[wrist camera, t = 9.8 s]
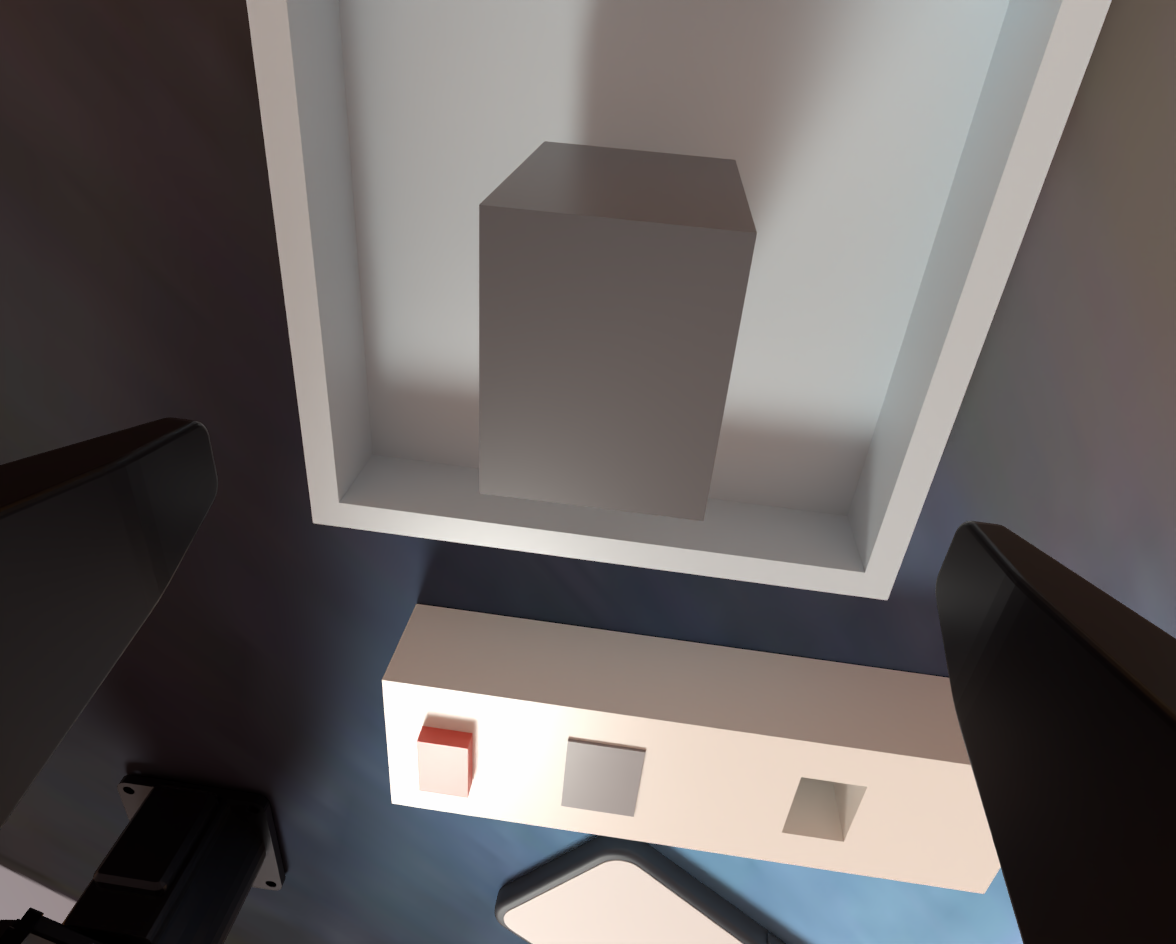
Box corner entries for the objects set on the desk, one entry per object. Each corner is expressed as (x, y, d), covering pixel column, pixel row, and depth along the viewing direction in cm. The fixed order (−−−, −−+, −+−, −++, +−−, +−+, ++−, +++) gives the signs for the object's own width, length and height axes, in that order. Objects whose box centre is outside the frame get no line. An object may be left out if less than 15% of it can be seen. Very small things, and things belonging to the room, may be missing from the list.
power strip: (1230, 716, 25) (1318, 832, 22) (1145, 829, 28) (1210, 945, 25) (416, 603, 26) (375, 695, 23) (421, 722, 30) (386, 818, 26)
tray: (865, 533, 23) (887, 600, 20) (353, 467, 24) (312, 523, 21) (1085, -123, 15) (1167, -148, 12) (294, -191, 16) (217, -228, 13)
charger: (731, 146, 18) (756, 233, 11) (698, 350, 20) (703, 521, 14) (556, 129, 18) (478, 204, 11) (547, 334, 20) (479, 493, 14)
